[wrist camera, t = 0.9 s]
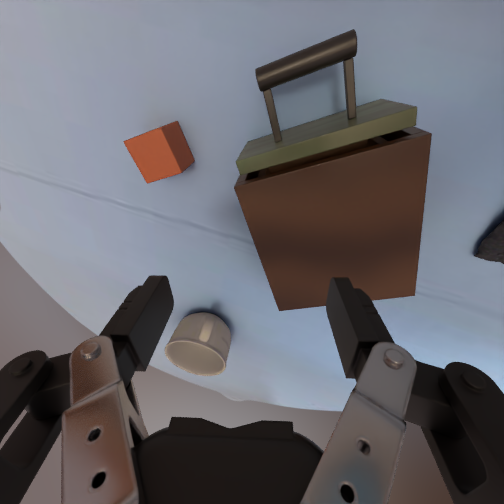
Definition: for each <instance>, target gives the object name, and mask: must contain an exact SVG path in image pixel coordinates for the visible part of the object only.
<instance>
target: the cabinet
mask: <svg viewBox="0 0 504 504" xmlns="http://www.w3.org/2000/svg"><path fill="white" fill-rule="evenodd" d="M431 136H432V134H431V133H429V132H426V131H424V130H421V129H418V128H416V127H409V128H406V129H402V130H398V131H395V132H391V133H388V134H384V135H381V136H380V137H382V138H383V139H385V140H387V141H388V142H384V143H381V144H377V145H374V146H370V147H366V148H363V149H359V150H355V151H352V152H348V153H345V154H341V155H337V156H334V157H330V158H326V159H323V160H319V161H316V162H312V163H308V164H305V165H301V166H297V167H294V168H290V169H287V170H283V171H279V172H276V173H272V174H268V175H265V176H261V177H258V175H259V171H260V170H258V171H254V172H251V173H247V174H244V175H240V176H239V178H238V180H237V182H236V184H235V186H234V189H235V192H236V194H237V197H238V200H239V203H240V205H241V208H242V211H243V213H244V216H245V219H246V222H247V224H248V227H249V230H250V233H251V235H252V238H253V241H254V244H255V246H256V249H257V252H258V254H259V257H260V260H261V263H262V265H263V268H264V271H265V274H266V276H267V279H268V282H269V285H270V287H271V290H272V293H273V296H274V298H275V301H276V304H277V306H278V309H279V311H284V310H293V309H302V308H310V307H319V306H326V300H327V295H328V289H329V284H330V280H331V278H332V277H348V278H349V279H350V281H351V283H352V285H353V287H354V288H360V289H362V290H363V291H364V292H365V293H366V294H367V295H368V296H369V297H370V299H371V301H372V300H381V299H390V298H399V297H407V296H415V289H416V279H417V270H418V260H419V250H420V241H421V231H422V222H423V212H424V203H425V193H426V183H427V174H428V164H429V155H430V145H431Z"/></svg>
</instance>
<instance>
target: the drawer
mask: <svg viewBox="0 0 504 504" xmlns="http://www.w3.org/2000/svg"><path fill="white" fill-rule="evenodd" d="M356 53H357V36H356V32H355V30H354V29H353V30H350V31H348V32H345V33H343V34H340V35H338V36H335V37H333V38H330V39H328V40H326V41H323V42H321V43H318V44H316V45H313V46H311V47H308V48H306V49H303V50H301V51H298V52H296V53H294V54H291V55H289V56H286V57H284V58H281V59H279V60H276V61H274V62H271V63H269V64H267V65H264V66H262V67H259V68H257V69H255V72H256V78H257V82H258V86H259V89H260V91H261V92H262V91H263V93H264V98H265V102H266V106H267V110H268V114H269V118H270V123H271V127H272V131H273V134H270V135H267V136H264V137H261V138H258V139H255V140H252V141H249V142H247V144H246V145H245V147H244V149H243V150H242V152H241V154H240V155H239V157H238V159H237V160H236V164H237V167H238V170H239V173H240V175H244V174H247V173H251V172H254V171H258V170H260V171H259V175H258V177H261V176H265V175H268V174H272V173H276V172H279V171H283V170H287V169H290V168H294V167H297V166H301V165H305V164H308V163H312V162H316V161H319V160H323V159H326V158H330V157H334V156H337V155H341V154H345V153H348V152H352V151H355V150H359V149H363V148H366V147H370V146H374V145H377V144H381V143H384V142H388V141H387V140H385V139H383V138H382V137H380V136H381V135H384V134H388V133H391V132H395V131H398V130H402V129H406V128H409V127H413V126H415V125H416V117H417V107H416V106H412V105H407V104H403V103H398V102H393V101H389V100H384V99H379V100H376V101H373V102H370V103H367V104H364V105H360V106H357V107H356V98H355V81H354V63H353V57H355V56H356ZM342 61H343V68H344V81H345V94H346V108H347V110H345V111H342V112H339V113H336V114H333V115H329V116H326V117H323V118H320V119H317V120H314V121H311V122H308V123H305V124H302V125H298V126H295V127H292V128H289V129H286V130H283V131H280V128H279V123H278V119H277V114H276V109H275V105H274V100H273V96H272V91H271V89H270V88H273V87H276V86H278V85H281V84H284V83H286V82H289V81H292V80H294V79H297V78H299V77H302V76H305V75H307V74H310V73H313V72H315V71H318V70H321V69H323V68H326V67H329V66H331V65H334V64H337V63H339V62H342Z"/></svg>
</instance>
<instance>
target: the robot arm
mask: <svg viewBox="0 0 504 504" xmlns="http://www.w3.org/2000/svg"><path fill="white" fill-rule="evenodd" d="M173 306H174V299H173V295H172V291H171V288H170V284H169V280H168V278H167V276H149V277H148V278H147V280H146V281H145V283H144V284H143V286H138V287H137V288H135V289H134V290H133V291H131V292H130V293H129V294H128V296H127V297H126V299H125V300H124V303H122V304H121V306H120V307H119V310H117V311H116V312H115V314H114V315H113V317H112V318H111V319H110V321H109V322H108V324H107V325H106V326H105V328H104V329H103V331H102V332H101V333H100V335H99V336H96V337H93V338H90V339H88V340H86V341H84V342H83V343H81V344H80V345H79V346H78V347H76V349H75V350H74V351H73V352H72V353H68V354H64V355H60V356H56V357H53V358H48V356H47V355H46V354H45V353H44V352H43V351H39V350H36V351H31V352H27V353H24V354H22V355H20V356H18V357H16V358H15V359H13V360H12V361H10V362H9V363H8V364H6V365H5V366H4V367H3V368H2V369H1V370H0V443H1V441H2V439H3V437H4V436H5V434H6V433H7V432H8V430H9V429H10V427H11V426H12V425H13V423H14V422H15V421H16V419H17V418H18V417H19V415H20V414H21V413H22V411H23V410H24V409H25V410H26V411H27V413H26V415H25V416H24V418H23V419H22V420H21V422H20V423H19V424H18V426H17V427H16V429H15V430H14V431H13V433H12V434H11V436H10V437H9V439H8V440H7V441H6V443H5V444H4V446H3V447H2V448H1V450H0V504H19V503H20V502H21V500H22V498H23V497H24V495H25V493H26V492H27V490H28V488H29V486H30V484H31V483H32V481H33V479H34V478H35V476H36V474H37V472H38V470H39V469H40V467H41V465H42V464H43V462H44V460H45V458H46V457H47V455H48V453H49V451H50V450H51V448H52V446H53V444H54V443H55V441H56V439H57V437H58V436H59V434H60V432H61V430H62V480H61V481H62V482H61V483H62V484H61V485H62V487H61V489H62V490H61V498H62V500H61V504H388V501H389V497H390V492H391V488H392V484H393V480H394V476H395V472H396V468H397V464H398V460H399V455H400V452H401V448H402V443H403V439H404V435H405V431H406V422H404V420H406V421H409V422H411V423H414V424H417V425H419V426H421V429H422V431H423V433H424V435H425V438H426V440H427V442H428V445H429V447H430V449H431V452H432V454H433V456H434V458H435V461H436V463H437V466H438V468H439V470H440V472H441V475H442V477H443V480H444V482H445V484H446V486H447V489H448V491H449V494H450V496H451V498H452V500H453V503H454V504H504V394H503V392H502V391H501V390H500V389H499V387H498V386H497V385H496V383H495V382H494V381H493V380H492V379H491V378H490V377H489V376H488V375H486V374H485V373H484V372H482V371H481V370H479V369H477V368H476V367H474V366H471V365H469V364H466V363H462V362H452V363H449V364H448V365H447V366H446V367H445V369H442V368H439V367H435V366H432V365H428V364H425V363H422V362H419V361H416V360H414V358H413V357H412V355H411V354H410V353H409V352H408V351H406V350H405V349H404V348H402V347H401V346H399V345H397V344H395V343H394V341H393V339H392V337H391V335H390V334H389V332H388V330H387V328H386V326H385V324H384V323H383V321H382V319H381V317H380V315H379V314H378V312H377V310H376V308H375V307H374V304H373V302H372V301H371V299H370V297H369V296H368V295H367V294H366V293H365V292H364V291H363V290H362V289H360V288H354V287H353V285H352V283H351V281H350V279H349V278H348V277H332V278H331V280H330V284H329V289H328V295H327V300H326V311H327V315H328V319H329V322H330V325H331V329H332V332H333V336H334V339H335V342H336V346H337V349H338V352H339V356H340V359H341V362H342V366H343V369H344V372H345V376H346V378H354V379H356V382H357V383H356V385H355V387H354V389H353V390H352V392H351V394H350V396H349V399H348V401H347V403H346V405H345V407H344V410H343V412H342V414H341V416H340V418H339V420H338V423H337V425H336V427H335V429H334V431H333V433H332V436H331V438H330V440H329V442H328V444H327V447H326V449H325V451H323V450H322V449H321V448H320V447H318V446H317V445H316V444H315V443H314V442H313V441H311V440H310V439H308V438H306V437H305V436H303V435H301V434H299V433H297V432H294V431H293V423H292V422H288V421H258V422H255V423H251V424H247V425H243V426H240V427H236V428H226V427H224V426H221V425H218V424H215V423H213V422H210V421H207V420H205V419H202V418H187V417H185V418H184V417H172V418H171V421H170V424H169V427H167V428H164V429H161V430H159V431H157V432H155V433H153V434H151V435H150V436H149V435H148V432H147V430H146V427H145V425H144V422H143V419H142V415H141V411H140V407H139V403H138V399H137V396H136V392H135V388H134V384H133V381H132V377H133V375H134V372H135V371H146V368H147V366H148V364H149V362H150V360H151V357H152V355H153V353H154V351H155V348H156V346H157V344H158V342H159V340H160V337H161V335H162V333H163V331H164V328H165V326H166V324H167V322H168V319H169V317H170V315H171V313H172V310H173Z"/></svg>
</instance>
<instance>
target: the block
mask: <svg viewBox="0 0 504 504" xmlns="http://www.w3.org/2000/svg"><path fill="white" fill-rule="evenodd" d="M124 144H125V146H126V147H127V149H128V151H129V153H130V154H131V156H132V158H133V160H134V161H135V163H136V165H137V167H138V168H139V170H140V172H141V174H142V175H143V177H144V179H145V181H146V182H147V183H150V182H154V181H157V180H160V179H163V178H167V177H170V176H173V175H176V174H180V173H182V172H183V171H184V170H185V169H186V168H188V167H189V166H190V165H191V164H192V163H193V162H194V161H195V160H194V158H193V156H192V153H191V151H190V149H189V146H188V144H187V142H186V139H185V137H184V135H183V132H182V130H181V128H180V126H179V123H178V121H175V122H173V123H170V124H167V125H165V126H162V127H159V128H157V129H154V130H152V131H149V132H146V133H144V134H141V135H139V136H136V137H133V138H131V139H128V140H126V141H124Z"/></svg>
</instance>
